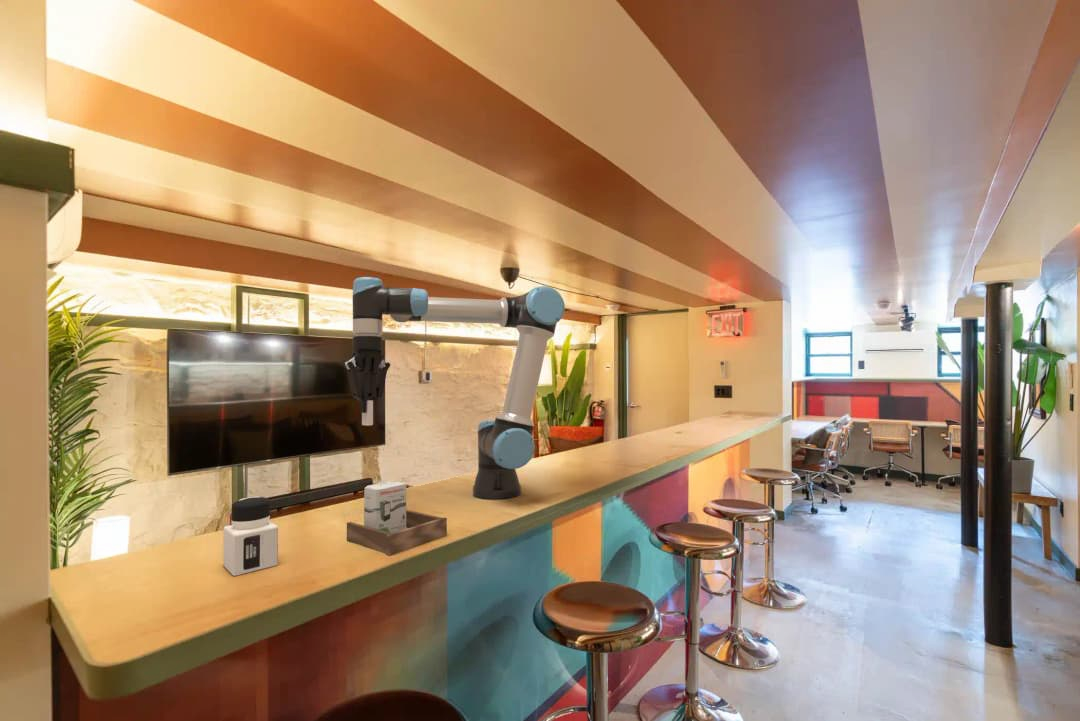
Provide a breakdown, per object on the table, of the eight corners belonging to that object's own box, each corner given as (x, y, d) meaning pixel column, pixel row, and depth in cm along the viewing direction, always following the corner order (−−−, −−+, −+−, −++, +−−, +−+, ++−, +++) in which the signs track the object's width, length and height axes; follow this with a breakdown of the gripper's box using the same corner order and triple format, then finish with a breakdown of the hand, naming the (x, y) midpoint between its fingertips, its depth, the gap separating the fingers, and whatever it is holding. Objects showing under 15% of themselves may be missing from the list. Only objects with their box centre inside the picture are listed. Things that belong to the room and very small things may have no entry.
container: (278, 565, 96) (279, 498, 97) (233, 577, 91) (234, 506, 91) (265, 555, 102) (266, 492, 102) (222, 566, 96) (223, 499, 97)
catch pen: (402, 524, 123) (402, 507, 124) (446, 535, 114) (446, 517, 114) (344, 541, 111) (344, 523, 111) (388, 555, 101) (388, 536, 101)
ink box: (375, 542, 109) (375, 489, 110) (362, 538, 112) (362, 486, 113) (407, 532, 116) (407, 482, 117) (394, 529, 119) (394, 480, 120)
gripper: (379, 338, 138) (379, 422, 137) (337, 335, 128) (336, 426, 127) (396, 336, 134) (396, 423, 133) (353, 333, 123) (353, 427, 122)
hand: (367, 425), depth 130 cm, fingers closed
